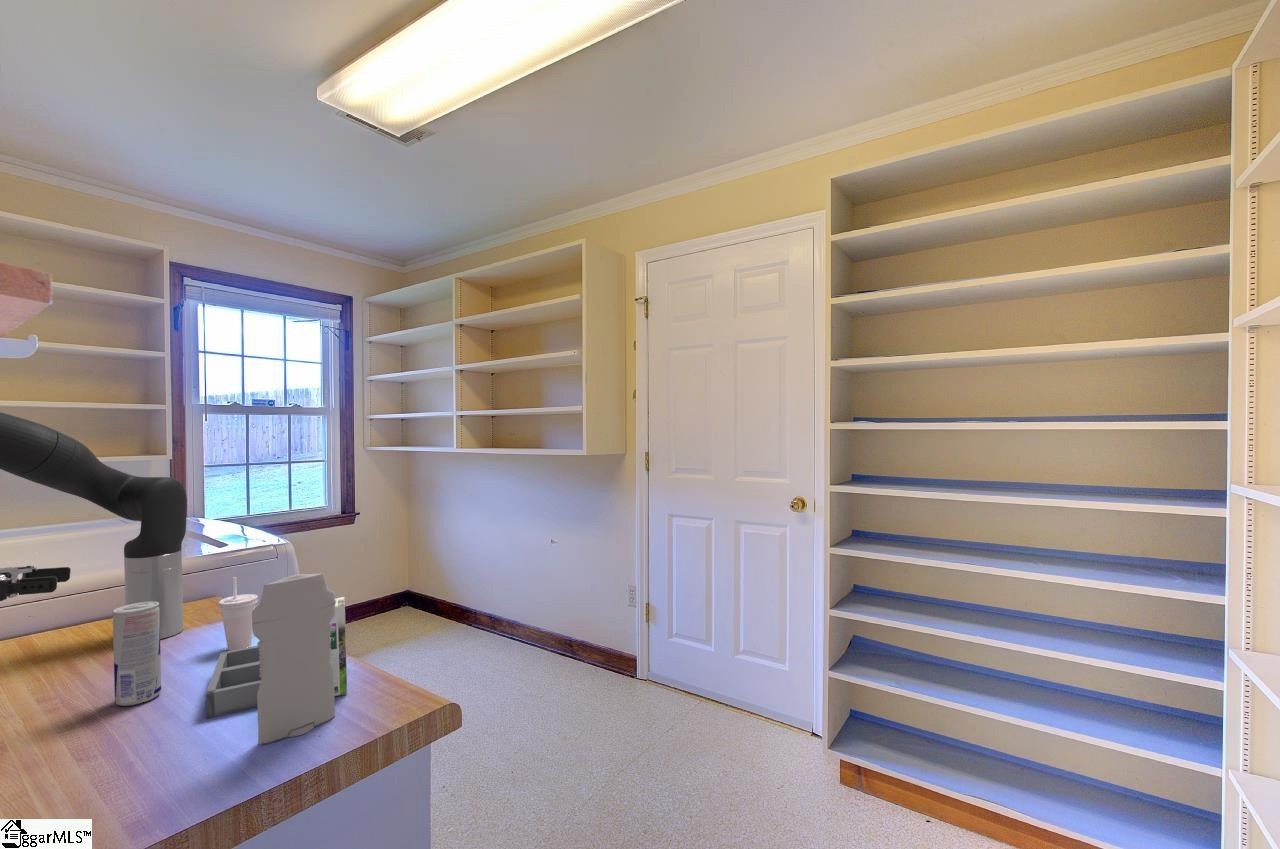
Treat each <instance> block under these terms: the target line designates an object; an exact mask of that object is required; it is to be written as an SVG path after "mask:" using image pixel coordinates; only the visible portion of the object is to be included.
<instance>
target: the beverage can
mask: <svg viewBox="0 0 1280 849" xmlns="http://www.w3.org/2000/svg"><path fill="white" fill-rule="evenodd" d="M158 605H159V603H158V602H141V603H135V604H130V605H122V606H120V607H116V608H115V609H113V611H112V613H113V615H112V634H113V636H112V637H113V638H112V639H113V675H114V677H113V678H114V680H113V681H114V704H116V705H117V706H123V707H128V706H134V705H140V704H143V702H144V703H146V702H149V701H151V700H153V699H155V698H157V697H158V696H159V695H160V694H161V693H162V667H161V666H162V665H161V664H162V662H161V661H162V659H161V657H162V656H161V639H160V611H159V607H158Z"/></svg>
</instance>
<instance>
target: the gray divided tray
mask: <svg viewBox="0 0 1280 849" xmlns="http://www.w3.org/2000/svg"><path fill="white" fill-rule="evenodd" d="M258 649H259V647H258V645H255V646H254V645H253V646H251V647H248V648H243V649H237V650H232V651H228V650H227V651H223V652H222V651H221V652H220V654H219V657H218V659H217V662H216V665H215V667H214V671H213V673H212V676H211V679H210V681H209V685H208V687H207V690H206V693H205V701H206V702H205V710H206V711H205V712H206V714H205V715H206V716H205V718H206V719H210V718H213V717H219V716H223V715H228V714H231V713H235V712H236V713H237V712H240V711H245V710H249V709H254V708H258V705H257V692H258V689H259V686H260V682H261V677H260V676H259V675H260V674H261V673H259V672H260V670H259V669H260V668H261V667H260V664H259V663H260V661H259V660H260V658H259V656H260V654H259V652H260V651H258Z"/></svg>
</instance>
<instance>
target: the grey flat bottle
mask: <svg viewBox="0 0 1280 849" xmlns="http://www.w3.org/2000/svg"><path fill="white" fill-rule="evenodd" d="M327 584H328V583H327V581H326V578H325V573H324V572H322V573H321V572H320V573H319V572H318V573H309V574H307V573H306V574H305V573H301V574H299V573H298V574H294V575H288V576H286V577H284V578H281V579H278V580H276V581H273V582H269V583H266V584H263V588H262V589H263V590H262V593H261V598H260V601H259V604H258V605H256V608H255V609H254V610H253V611H252V629H253V633H252V636H254V637H255V638H257V639H258V640H259V641H257V643H256V644H257V645H256V646H258V647H259V649H258V651H260V652H259V654H260V656H259V658H260V660H259V661H260V663H259V664H260V667H261V668H260V669H259V670H260V672H259V673H261V674H260V675H259V676H260V677H261V682H260V686H259V689H258V692H257V705H258V707H257V735H258V736H257V737H258V739H257V740H258V741H257V743H258V745H259V746H264V745H265V746H266V745H270V744H273V743H276V742H279V741H282V740H285V739H288V738H292V737H298V736H302V735H304V734H306V733H309V732H310V731H312V730H313V729H314V728H317V727H320V726H322V725H323V724H325V723H328V722H330V721H331V720H333V719H334V718H335V717H336V716H335V714H336V712H335V711H336V710H335V707H336V706H335V696H334V668H333V665H332V663H331V660H330V656H331V654H330V653H331V651H330V650H331V648H330V647H331V645H330V644H331V643H330V642H331V640H330V639H331V637H330V635H331V633H330V632H331V630H330V629H331V628H332V624H330V621H331V620H332V618H333V616H334V614H335V599H336V592H335V591H333V590H331V589H329V587H328V585H327Z"/></svg>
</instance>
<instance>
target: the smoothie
mask: <svg viewBox="0 0 1280 849" xmlns="http://www.w3.org/2000/svg"><path fill="white" fill-rule="evenodd" d="M237 584H238V583H237V576H233V577H232V596H228V597H225V598H223V599H221V600H219V602H218V609H220V612H221V617H222V623H223V630H224V635H225V640H226V646H227V651H228V650H229V651H232V650H237V649H243V648H247V647H249V646H251V647H252V640H253V629H252V611H253V610H254V609H255V608H256V607H257V605H256V604H257V602H258V601H259V599H258V595H257V594H255V593H247V594H246V593H245V594H238V592H237V591H238V590H237Z"/></svg>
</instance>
